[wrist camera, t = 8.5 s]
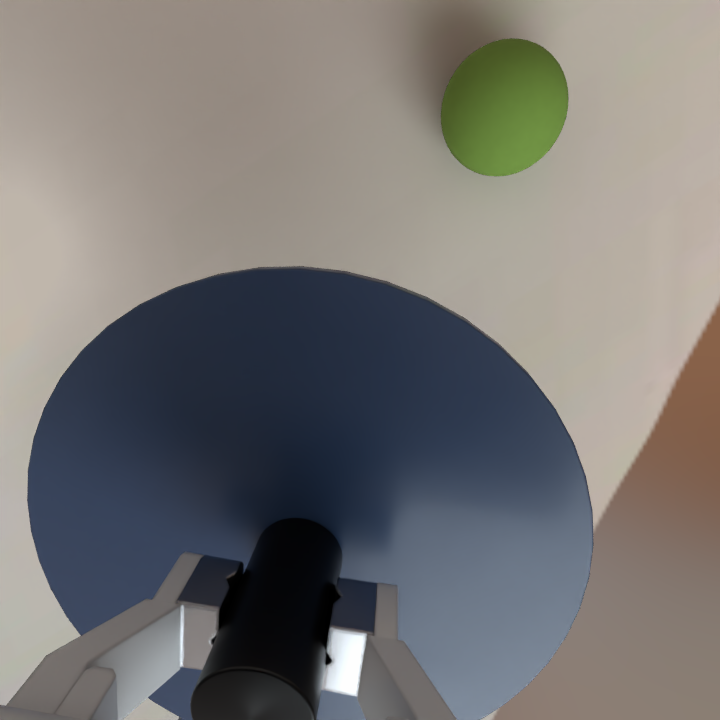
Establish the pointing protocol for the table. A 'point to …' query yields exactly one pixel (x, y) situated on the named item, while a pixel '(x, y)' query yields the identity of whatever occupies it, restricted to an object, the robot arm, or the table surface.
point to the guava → (504, 107)
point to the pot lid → (314, 486)
